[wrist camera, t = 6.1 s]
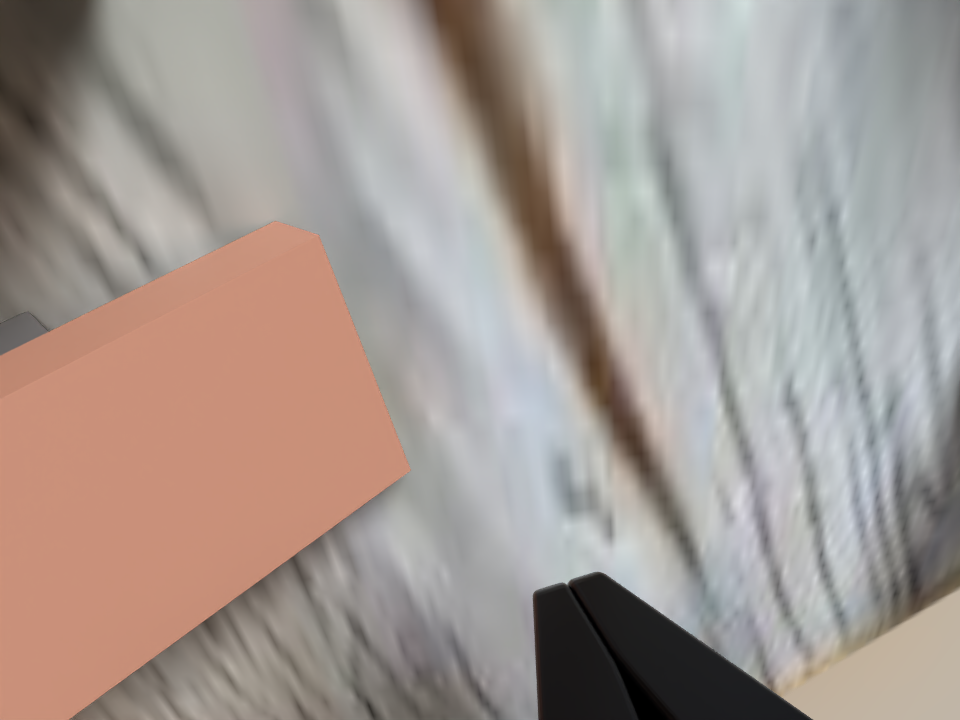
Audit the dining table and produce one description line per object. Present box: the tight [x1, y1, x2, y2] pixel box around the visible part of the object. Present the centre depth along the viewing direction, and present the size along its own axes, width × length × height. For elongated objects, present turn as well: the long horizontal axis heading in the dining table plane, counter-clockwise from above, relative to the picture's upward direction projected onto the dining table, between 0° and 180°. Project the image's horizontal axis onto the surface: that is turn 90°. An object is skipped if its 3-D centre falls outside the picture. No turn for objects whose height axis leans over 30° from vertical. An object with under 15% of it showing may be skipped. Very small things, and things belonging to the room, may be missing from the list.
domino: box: [0, 221, 411, 720], centre depth 12 cm, size 2×5×10 cm
